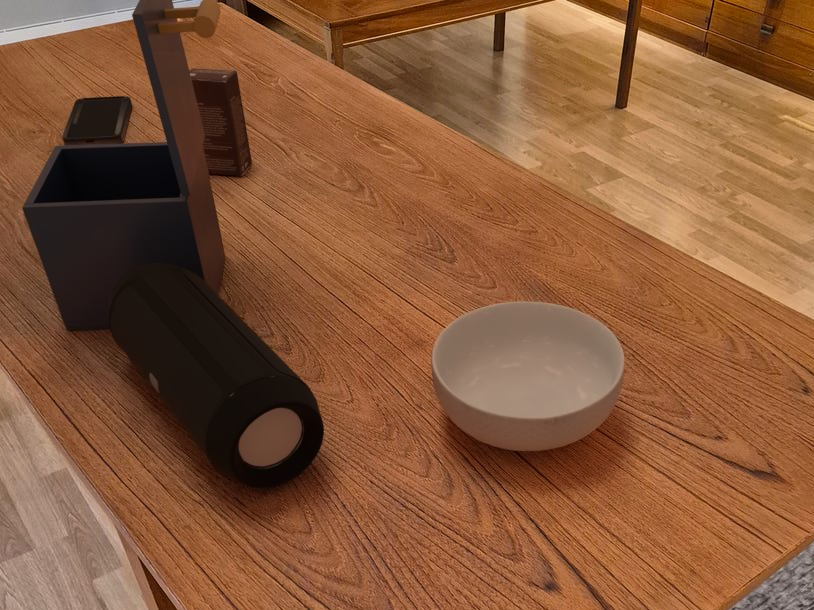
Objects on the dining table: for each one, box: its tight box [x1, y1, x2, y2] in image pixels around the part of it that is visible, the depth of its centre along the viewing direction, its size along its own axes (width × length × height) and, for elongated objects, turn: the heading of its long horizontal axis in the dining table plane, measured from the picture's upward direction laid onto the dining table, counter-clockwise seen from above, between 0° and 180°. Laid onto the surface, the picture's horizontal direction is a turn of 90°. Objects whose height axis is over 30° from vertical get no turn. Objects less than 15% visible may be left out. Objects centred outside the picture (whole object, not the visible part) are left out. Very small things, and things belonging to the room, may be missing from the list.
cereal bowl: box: [430, 301, 626, 452], centre depth 78 cm, size 17×17×7 cm
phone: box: [61, 95, 133, 146], centre depth 126 cm, size 8×1×15 cm
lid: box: [131, 0, 221, 196], centre depth 81 cm, size 15×14×6 cm
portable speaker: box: [108, 263, 325, 490], centre depth 77 cm, size 26×10×10 cm, turn 37°
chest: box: [21, 141, 226, 332], centre depth 91 cm, size 15×14×13 cm
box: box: [189, 67, 253, 177], centre depth 113 cm, size 6×4×12 cm
